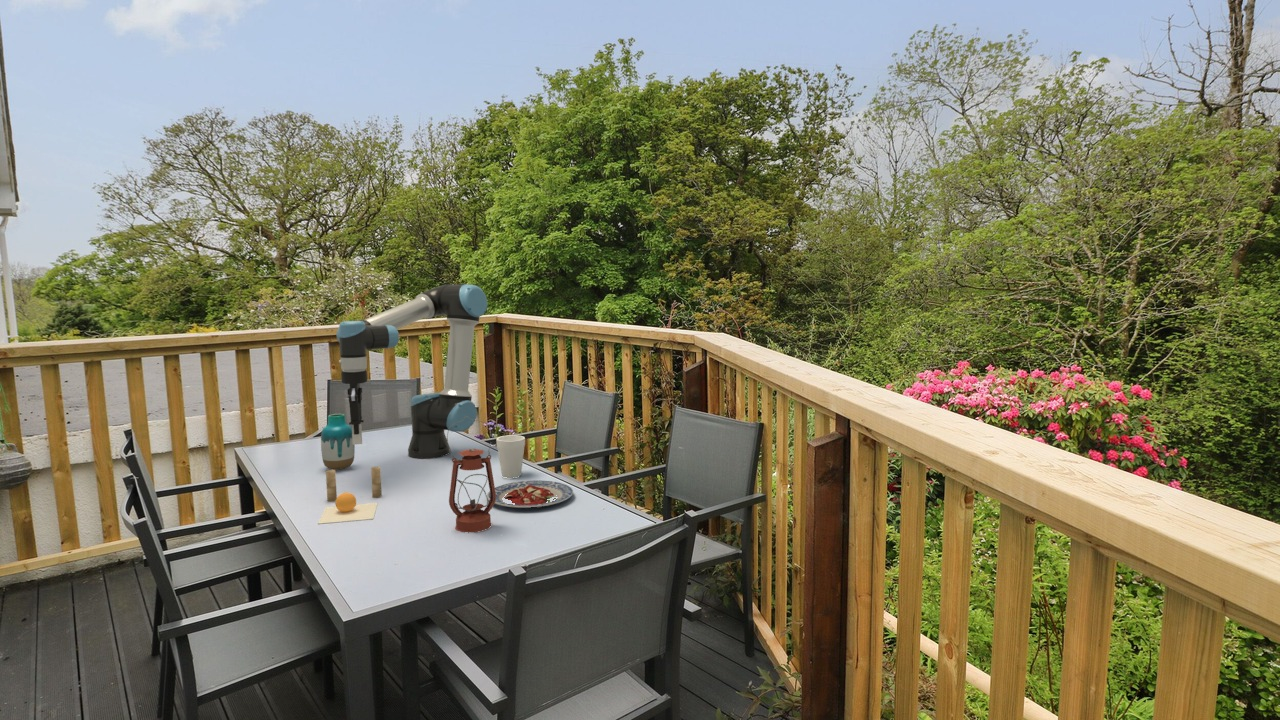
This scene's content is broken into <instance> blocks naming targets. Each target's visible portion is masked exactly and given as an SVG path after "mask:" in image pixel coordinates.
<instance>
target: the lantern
mask: <svg viewBox="0 0 1280 720" xmlns="http://www.w3.org/2000/svg"><path fill="white" fill-rule="evenodd" d="M465 418H466V417H465ZM465 418H464V419H465ZM469 419H470V418H469ZM471 420H473V419H471ZM462 421H463V420H462ZM475 421H476V422H478V420H477V419H475ZM460 422H461V421H460ZM480 422H481V423H485V424H487V425H488V427H489V428H491V427H490V424H489V423H488V422H485V421H482V420H479V423H480ZM457 423H458V422H457ZM455 424H456V423H455ZM453 425H454V424H453ZM451 426H452V425H451ZM451 426H450V427H451ZM449 429H450V428H449ZM491 431H492V430H491V429H489V435H490V436H492V432H491ZM449 432H450V430H447V434H446V438H447V442H448V445H449V448H450V454H451V456H452V458H451V462H452V463H453V464H452V472H451V480H450V489H449V496H448V504H449V507H450V509H451V511H452V513H453V514H455V515H456V517H455V527H454V529H455V530H456V531H457V532H460V533H465V532H468V534H469V532H474V533H479V532H478V531H480V532H483V531H482V530H484V531H486V530H485V529H487V530H488V528H489V527H490V526H491V524H492V522H491V514H490V513H489V512H491V510H492V508H493V507H494V505H495V501H496V492H495V486H496V485H495V481H494V474H493V469H492V463H491V459H492V455H491V454H490V449H491V446H492V443H490V445H489V447H488V451H487V452H488V454H487V455H486V457H482V456H481V455H483V454H484V453H485V451H484V450H483V449H476V448H469V449H465V450H462V451H459V452H458V455H460V456H462V458H461V459H457V458H456V457H455V456H454V455H453V452H452V450H451V447H450V444H449V440H448V435H449ZM484 464H485V465H484ZM484 468H486V471H485V472H486V474H483V473H476V474H474V473H473V474H470V475H468V476H467V477H465V478H464V479H463V480H460V479H458V474H459V469H460V470H462V471H478V470H482V469H484ZM473 476H483V477H486V478H487V479H486V480H485V483H484V485H483V486H481V485H480V484H478V483H473V482H467V481H466V480H467V479H468V478H469V477H473ZM457 482H459V483H460V484H461V485H460V487H459V490H458V494H457V503H456V499H455V498H456V497H455V496H456V488H457ZM487 483H488V487H489V491H490V501H489V500H488V498H487V493H486V491H485V489H484V488H485V486H486V484H487ZM464 484H469V485H475V486H478V487H479V488H480V489H481V491H480V493H479V496H478V499H477V502H476V499H475V498H474V499H472V498H471V497H470V494H469V493H468V490H467V487H466V486H465V485H464ZM462 487H463V488H464V489H465V491H466V494H467V497H468V498H469V503H467V504H465V505H464V504H463V506H461V505H460V503H459V496H460V493H461V492H460V491H461V489H462ZM483 492H484V495H485V498H486V501H487V502H486V505H484V504H482V503H479V501H480V498H481V496H482V495H481V494H482V493H483ZM483 508H485V509H483ZM460 509H461V510H463V512H462V511H461V510H460ZM491 527H492V526H491ZM491 527H490V528H491ZM490 528H489V529H490Z"/></svg>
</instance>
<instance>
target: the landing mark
mask: <svg viewBox="0 0 1280 720" xmlns="http://www.w3.org/2000/svg"><path fill="white" fill-rule="evenodd" d="M377 506H378V502H372V503H362V504H356V506H355V507H354V509H353V510H351V511H349V512H341V511H339V510H338V509H337V508H336V505H334V506H326V507H325V508H324V510H323V513H322V514H321V516H320V519H319V520H318V523H317V525H323V524H336V523H347V522H355V521H356V522H358V521H368V520H369V521H370V520H374V518H375V514H376V510H377Z"/></svg>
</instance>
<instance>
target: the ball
mask: <svg viewBox="0 0 1280 720" xmlns="http://www.w3.org/2000/svg"><path fill="white" fill-rule="evenodd" d="M334 503H335V505H334V506H336V508H337V509H338V510H339V511H341V512H349V511H351V510H353V509H354V507H355V506H356V505H357V499H356V496H355V494H353V493H352V492H342V493H340V494H339V495H338V496H337V499H336V501H334Z"/></svg>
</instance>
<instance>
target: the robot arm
mask: <svg viewBox="0 0 1280 720" xmlns="http://www.w3.org/2000/svg"><path fill="white" fill-rule="evenodd" d="M487 309H488V298H487V295H486V293H484V290H483V289H482V288H481V287H480V286H478V285H474V284H466V283H464V284H442V285H439V286H436V287H434V288H433V287H432V288H431V289H429V290H426V291H423V292H422V293H419V294H417V295H416V297H415V298H414V299H411V300H409V301H407V302H405V303H402V304H400V305H396V306H395V307H394V306H393V307H392V308H390V309H387V310H385V311H382V312H380V313H377V314H375V315H372V316H370V317H367V318H364V319H362V320H344V321H342V322H340V323H339V325H338V328H337V331H336V339H337V341H338V343H339V351H340V352H339V354H340V355H339V356H340V359H339V360H338V363H339V364H340V368H341V374H340V377H341V378H340V379H341V383H342V384H345V385H349V388H348V389H347V395H348V396H347V398H348V404H349V414H350V416H349V417H350V422H349V423H348V425H350V426H351V427H352V442H353V444H354V445H362V444H363V432H362V429H363V428H362V426H363V425H362V423H364V421H365V420H364V419H363V416H362V415H363V414H362V400H363V399H362V398H363V397H362V395H363V388H362V387H361V385H360V384H365V383H367V382H368V371H367V370H366V369H367V368H368V361H367V360H368V358H367V351H369V350H382V349H386V350H388V349H390V348H391V349H392V348H395V347H396V346H397V345H398V343H399V341H400V335H399V331H398V330H399V329H402V328H404V327H406V326H408V325H411V324H413V323H416V322H418V321H420V320H422V319H426V320H427V319H428V320H429V319H431V318H434V317H439V316H446V320H447V322H448V323H449V325H450V326H449V335H448V336H449V337H448V346H447V347H448V348H447V357H446V366H445V375H444V377H445V378H444V387H443V389H442V391H441V390H440V392H430V393H423V394H417V395H414V396H413V397H412V398H411V403H410V408H411V409H410V410H411V411H410V412H411V429H412V431H411V433H412V435H411V439H410V442H409V444H408V445H409V446H408V449H407V456H409V457H410V458H413V459H432V458H433V457H435V458H439V457H444V456H447V455H449V454H450V453H451V451H450V449H451V447H450V444H449V441H448V442H447V439H448V438H447V435H446V433H445V431H448V430H449V432H456V433H457V432H459V433H460V432H465V431H467V430H469V429H470V428H471V427H472V426H473V425H474V423H475V420H477V416H478V411H477V407H476V404H475V403H474V402H473V401H472V398H473V397H472V394H471V393H470V392H469V384H470V375H471V365H472V364H471V363H472V353H473V345H474V344H473V343H474V332H475V327H476V326H477V325H478V324H480V318H481V317H482V316H483V315H484V314H485V313H486V312H487ZM465 417H466V418H465ZM464 418H465V419H464ZM469 418H470V419H469ZM471 419H473V420H471ZM462 420H463V421H462ZM460 421H461V422H460ZM457 422H458V423H457ZM455 423H456V424H455ZM453 424H454V425H453ZM451 425H452V426H451ZM450 426H451V427H450ZM449 428H450V429H449ZM448 444H449V445H448ZM449 447H450V448H449ZM449 452H450V453H449ZM448 453H449V454H448ZM446 454H447V455H446ZM443 455H444V456H443Z"/></svg>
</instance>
